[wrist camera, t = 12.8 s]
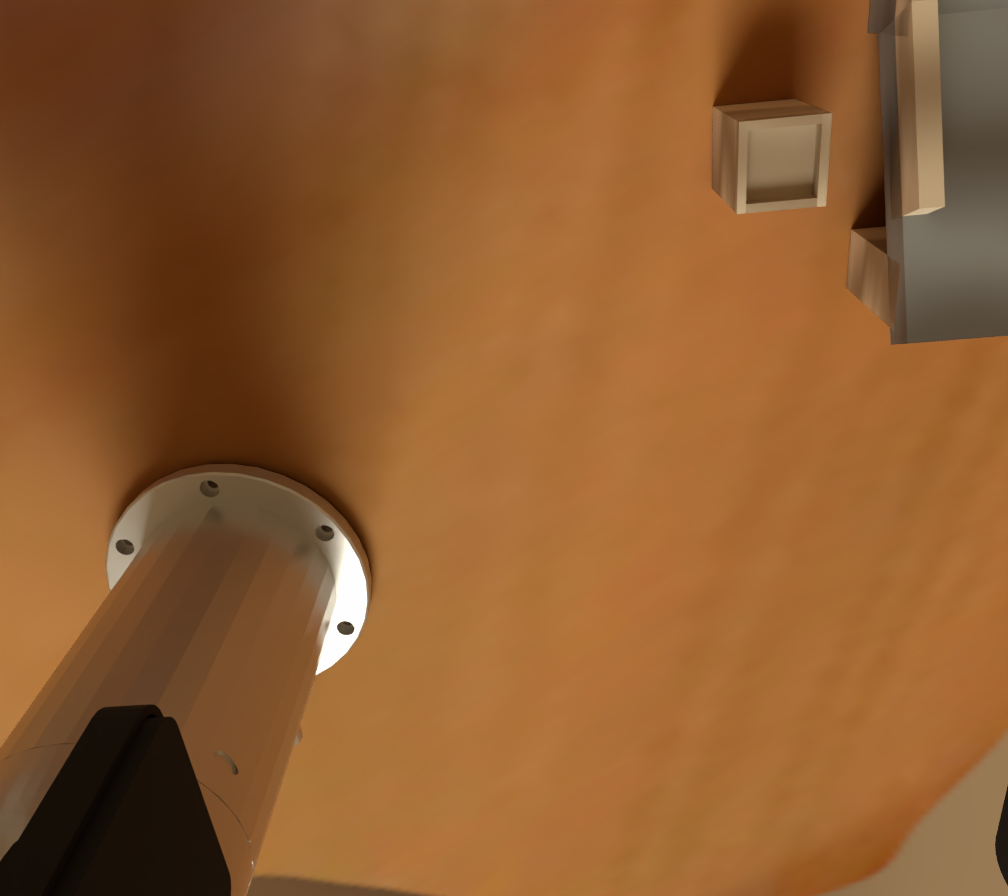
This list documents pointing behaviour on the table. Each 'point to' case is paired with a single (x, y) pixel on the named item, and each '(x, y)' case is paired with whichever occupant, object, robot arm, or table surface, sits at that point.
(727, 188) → the open wooden cubby
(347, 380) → the table surface
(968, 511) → the table surface
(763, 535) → the table surface
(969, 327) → the lane
